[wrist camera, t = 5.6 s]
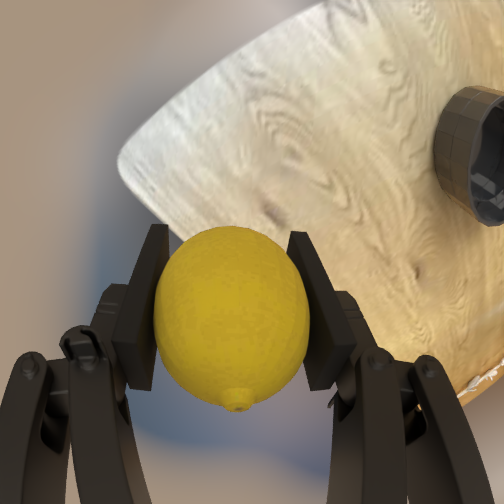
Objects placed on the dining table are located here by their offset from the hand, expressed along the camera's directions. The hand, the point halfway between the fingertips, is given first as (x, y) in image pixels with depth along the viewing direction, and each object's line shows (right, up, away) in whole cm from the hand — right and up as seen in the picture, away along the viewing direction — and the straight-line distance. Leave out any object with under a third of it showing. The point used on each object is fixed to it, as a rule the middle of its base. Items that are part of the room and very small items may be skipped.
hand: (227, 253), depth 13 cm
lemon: (0, 0, 0) cm, 1 cm away
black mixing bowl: (+27, +12, +11) cm, 32 cm away
